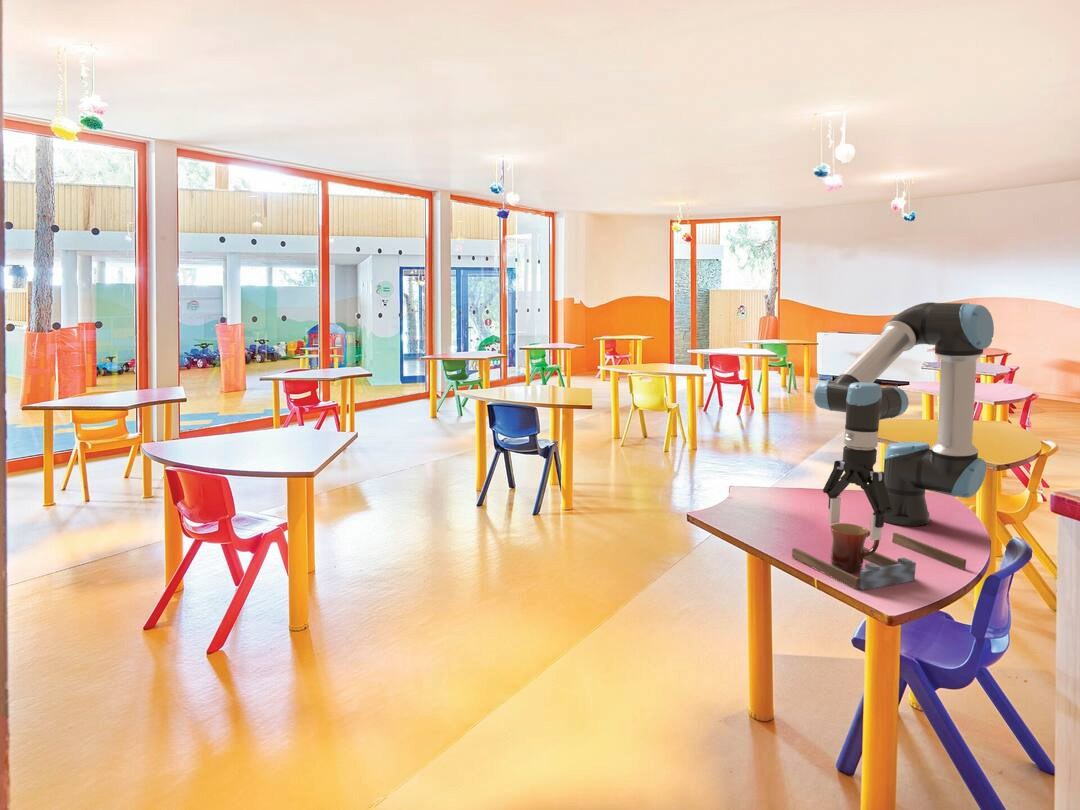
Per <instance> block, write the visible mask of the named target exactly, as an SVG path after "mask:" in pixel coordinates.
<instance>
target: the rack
mask: <svg viewBox="0 0 1080 810" xmlns="http://www.w3.org/2000/svg"><path fill="white" fill-rule="evenodd" d="M891 542H892V543H894V544H896V543H897V545H899V546H902V547H904V548H907V549H909V550H912V551H914V552H916V553H918V554H921V555H924V556H926V557H929V558H931V559H934V560H937V561H939V562H942V563H944V564H947V565H949V566H951V565H952V567H954V568H956V567H957V569H959V570H961V569H962V570H961V571H964V570H963V569H965V570H966V568H967V559H966V558H962V557H961V556H958V555H955V554H952V553H949V552H948V551H945V550H942V549H939V548H937V547H934V546H932V545H929V544H926V543H924V542H921V541H918V540H916V539H913V538H910V537H908V536H906V535H903V534H901V533H897V532H892V541H891ZM791 549H792V552H791V558H792V557H793V558H792V559H794V558H795V559H794V560H796V559H797V560H796V561H798V560H799V561H798V562H800V561H801V562H800V563H802V562H804V563H806V564H808V565H810V566H812V567H814V568H816V569H818V570H820V571H822V572H824V573H825V574H824V573H823V574H824V575H826V574H827V575H826V576H828V575H829V576H828V577H830V576H832V577H833V578H832V577H831V578H832V579H834V578H835V579H834V580H836V579H837V580H836V581H838V582H840V581H841V582H840V583H842V582H843V583H842V584H844V583H845V584H844V585H846V584H847V585H846V586H848V585H849V586H848V587H850V588H852V587H853V588H852V589H854V590H861V589H862V590H861V591H865V590H864V589H867V590H872V589H871V588H873V589H877V588H876V587H878V588H883V587H888V585H889V586H894V585H899V583H900V584H903V583H904V584H905V583H909V582H910V581H911V582H915V578H916V577H915V576H916V567H917V562H915V561H913V560H912V559H909V558H906V557H899V558H897V560H895V559H893V558H892V557H891V558H890V557H888V556H886V555H884V554H881V553H879V552H876V551H875V552H874V553H873V554H871V555H869V556H867V557H863V560H867V561H869V563H865V565H864V568H865V569H861V570H860V571H859V572H860V573H859V577H858V576H855V575H853V574H852V573H847V572H845V571H843V570H841V569H839V568H837V567H835V566H833V565H831V563H828V562H827V561H824V560H822V559H820V558H818V557H816V556H814V555H812V554H809V553H808V552H805V551H804V550H801V549H798V548H797V547H792V548H791ZM867 550H869V548H867V547H865V546H864V551H867ZM804 563H803V564H804ZM806 564H805V565H806ZM808 565H807V566H808ZM810 566H809V567H810ZM812 567H811V568H812ZM814 568H813V569H814ZM816 569H815V570H816ZM818 570H817V571H818ZM820 571H819V572H820ZM822 572H821V573H822ZM893 584H894V585H893ZM882 586H883V587H882Z"/></svg>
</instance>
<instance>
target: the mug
mask: <svg viewBox="0 0 1080 810" xmlns="http://www.w3.org/2000/svg"><path fill="white" fill-rule="evenodd" d="M829 529H830V533H831V536H832V538H831V539H832V540H831V542H832V544H831V552H830V564H831V565H833V566H835V567H837V568H839V569H841V570H843V571H845V572H847V573H849V574H852V573H853V574H855V573H858V572H860V571H861V570H862V567H863V564H864V558H863V557H867V556H869V555H871V554H873V553H874V552H876V551H877V549H878V547H879V545H880V540H881V539H880V540H874V541H873V544H872V545H871V548H870V549H869V548H868V549H869V550H867V551H864V547H865V543H866V539H867V538H868V537H870V530H868V529H867V528H866V527H864V526H861V525H858V524H853V523H840V522H839V523H834V524H830V527H829Z"/></svg>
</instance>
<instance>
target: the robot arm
mask: <svg viewBox="0 0 1080 810" xmlns="http://www.w3.org/2000/svg"><path fill="white" fill-rule="evenodd" d="M994 334H995V327H994V320H993V316H992V314H991V312H990V311H989V309H988V308H987V307H986V306H985V305H982V304H976V303H969V302H931V301H929V302H923V303H922V302H921V303H919V304H915V305H912V306H910V307H908V308H907V309H904V310H903V311H901V312H899V313H898V314H895V315H894V316H893V317H892V318H891V319H890V320H888V321H887V322H886V323H885V324H884V326H882V329H881V334H879V335H878V336H877V338H876V339H875V340H874V341H872V343H870V344H869V345H868V346H867V347H866V348H865V350H863V351H861V353H860V354H859V355H858V357H856V358H855V359H854V360H853V361H852V362H851V363H850V364H849V365H848V366H847V367H846V368H845V369H844V370H843V371H842V372H841V373H840V374H839V375H838V376H837V377H836V378H835V379H834V380H821V381H819V382H818V383H817V385H815V388H814V391H813V400H814V403H815V405H816V407H818V408H820V409H823V410H828V411H830V412H840V413H845V426H844V435H843V436H844V439H843V443H844V445H845V446H844V447H843V451H842V459H840V460H834V463H833V468H832V471H831V473H830V475H829V477H828V479H827V481H826V483H825V485H824V487H823V489H822V491H823V494H827V496H828V510H829V516H828V524H830V525H833V524H839V523H840V515H841V504H842V502H841V501H842V497H840V496H841V494H842V493H843V491H844V490H845V489H846V488H847V487H848V486H849V485H850V484H854V485H856V486H857V487H860V489H861V490H863V492H864V493H865V495H866V498H867V500H868V502H869V504H870V506H871V508H872V510H873V513H871V517H870V518H871V519H870V528H869V529H870V530H869V531H870V536H869V541H872V542H874V540H881V539H882V538H881V536H882V528H884V525H885V523H889V524H892V525H898V526H906V527H907V526H909V527H917V526H918V527H919V525H921V526H925V525H924V524H926V525H927V523H928V522H929V523H930V518H931V517H930V512H929V510H928V504H927V501H926V500H927V499H926V491H930V492H934V493H939V494H943V495H947V496H951V497H953V498H955V497H958V498H964V499H968V498H972V497H973V496H975V495H976V494H977V493H978V491H979V490H980V489H981V487H982V485H983V482H984V480H985V477H986V474H987V464H986V461H985V460H984V459H982V458H981V457H978V456H979V449H978V448H977V447H976V446H975V445H974V444H973V437H974V436H973V434H974V433H973V432H974V414H975V397H976V396H975V394H976V371H977V360H978V359H979V358H980V357H981V356H983V354H984V349H987V348H989V347H990V345H991V344H992V342H993V338H994ZM917 345H929V346H934V354H935V356H937V358H939V360H940V370H939V371H940V373H939V393H938V394H939V397H938V420H937V421H938V422H937V424H938V425H937V442H936V443H934V444H933V445H932V446H931V447H930V444H929V443H928V442H922V441H902V442H901V441H900V442H892V443H889V444H888V445H887V446H886V448H885V453H884V457H883V460H884V462H883V471H874V465H875V464H876V463H877V455H878V454H877V453H878V451H877V449H876V448H877V447H878V440H879V425H880V420H886V419H894V418H896V417H898V416H901V415H902V414H904V413H905V412H906V411H907V410H908V407H909V404H910V403H909V402H910V401H909V397H908V394H907V393H906V392H905V391H904V390H903V389H901V388H900V387H897V386H887V387H882V386H881V385H880V384H879V383H875V381H876V380H877V379H878V378H879V377H880V376H881V375H882V374H883V373H884V372H885V371H886V370H887V369H888V368H889V367H890V366H891V365H892V364H893V363H894V362H895V361H896V360H897V359H898V358H899V357H900V356H901V355H902V353H904V352H908V351H910V350H912V349H913V348H914V347H915V346H917ZM929 523H928V524H929Z"/></svg>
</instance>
